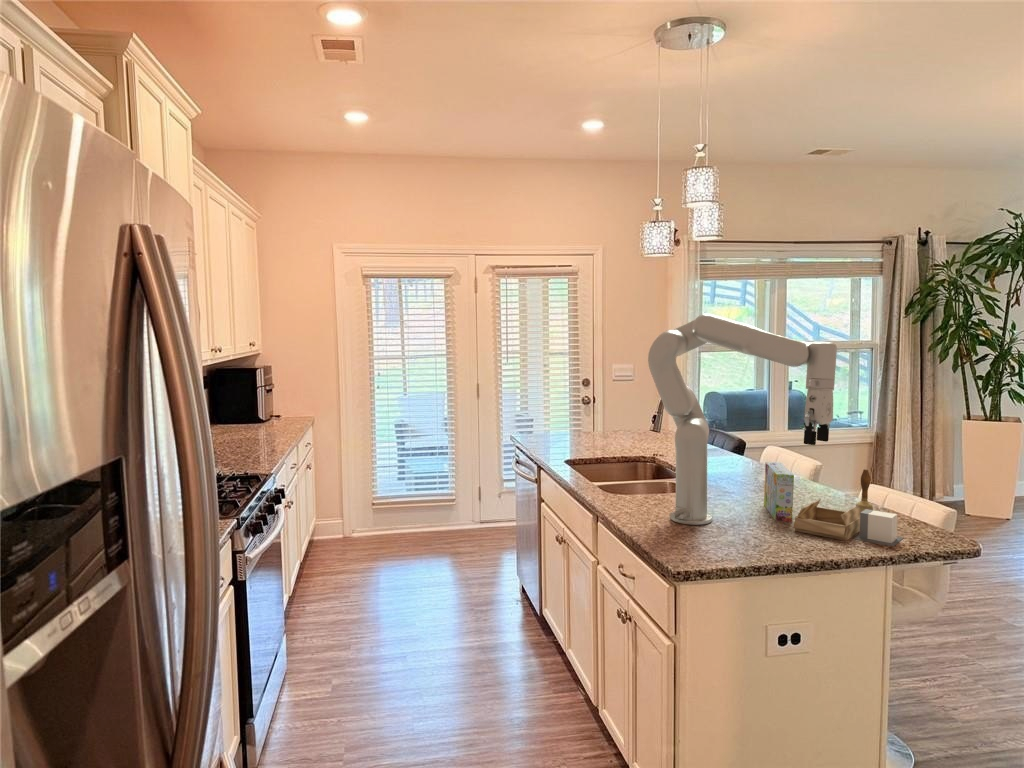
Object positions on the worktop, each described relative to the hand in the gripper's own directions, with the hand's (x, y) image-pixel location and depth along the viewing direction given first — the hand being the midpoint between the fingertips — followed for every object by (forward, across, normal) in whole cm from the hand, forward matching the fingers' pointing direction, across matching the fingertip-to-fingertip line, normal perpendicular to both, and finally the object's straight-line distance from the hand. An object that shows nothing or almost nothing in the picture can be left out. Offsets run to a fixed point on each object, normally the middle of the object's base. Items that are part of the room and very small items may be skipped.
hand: (816, 442), depth 194 cm
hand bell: (+26, +20, -9) cm, 34 cm away
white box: (+25, +2, -18) cm, 30 cm away
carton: (+26, +2, -5) cm, 26 cm away
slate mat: (+25, +2, -18) cm, 31 cm away
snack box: (+27, +11, +14) cm, 32 cm away
